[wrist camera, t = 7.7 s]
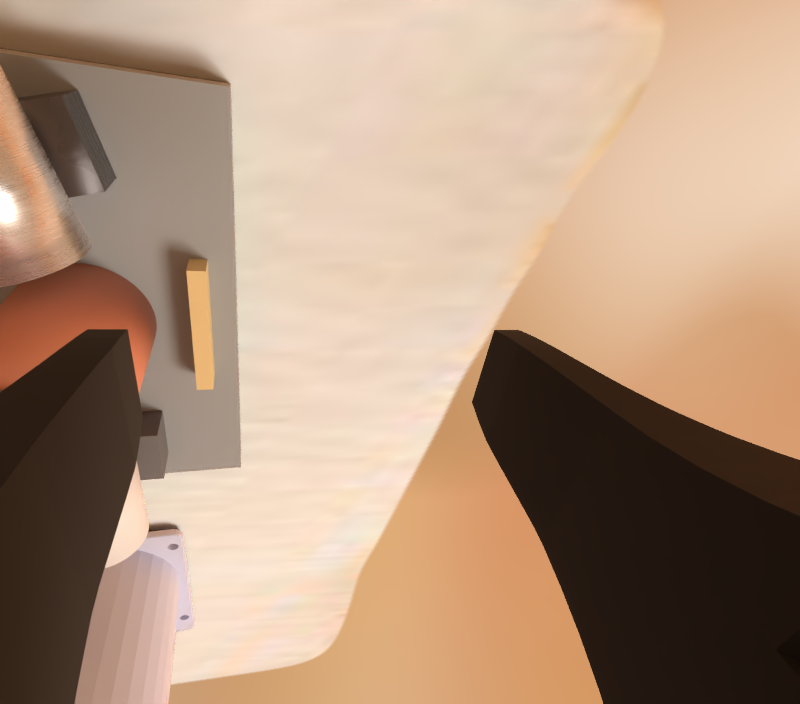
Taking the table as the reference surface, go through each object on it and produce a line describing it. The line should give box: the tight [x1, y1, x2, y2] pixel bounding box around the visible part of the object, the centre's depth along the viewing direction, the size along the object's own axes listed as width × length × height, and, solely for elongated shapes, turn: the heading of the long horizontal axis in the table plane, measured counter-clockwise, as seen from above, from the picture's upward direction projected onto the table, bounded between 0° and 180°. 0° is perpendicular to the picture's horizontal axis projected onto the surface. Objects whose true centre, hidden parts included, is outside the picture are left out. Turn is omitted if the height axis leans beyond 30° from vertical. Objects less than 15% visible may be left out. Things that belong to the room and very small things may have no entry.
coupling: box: [0, 263, 157, 392], centre depth 14 cm, size 4×4×6 cm
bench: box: [0, 48, 241, 568], centre depth 15 cm, size 16×12×6 cm
